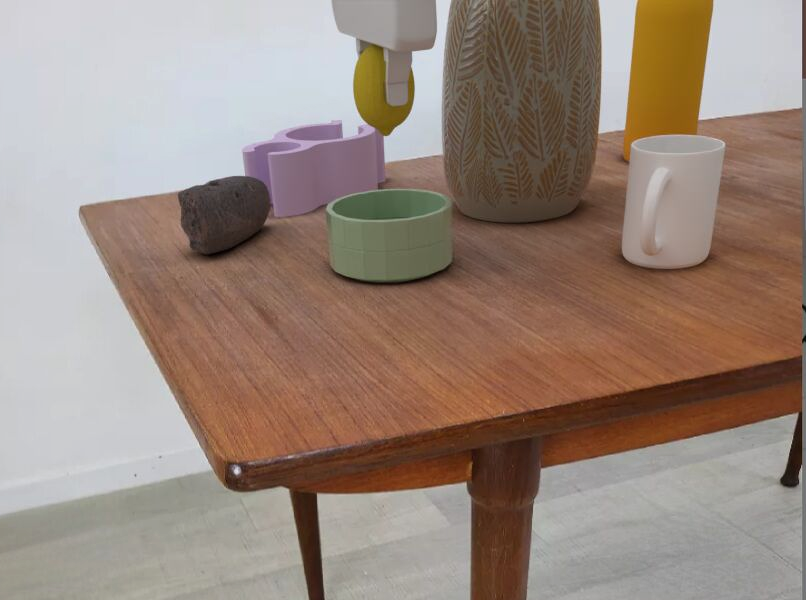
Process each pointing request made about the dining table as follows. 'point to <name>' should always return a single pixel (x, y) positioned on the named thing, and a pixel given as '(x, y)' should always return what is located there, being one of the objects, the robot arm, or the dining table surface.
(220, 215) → the perforated stone tool
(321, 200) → the clip
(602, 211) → the dining table surface
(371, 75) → the lemon
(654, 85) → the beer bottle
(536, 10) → the vase
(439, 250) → the green planter pot
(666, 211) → the mug
